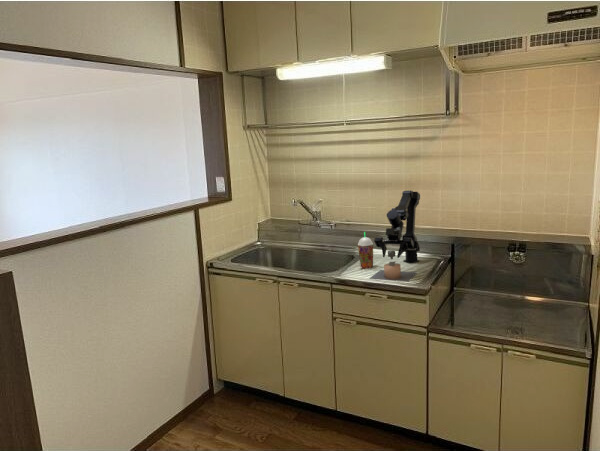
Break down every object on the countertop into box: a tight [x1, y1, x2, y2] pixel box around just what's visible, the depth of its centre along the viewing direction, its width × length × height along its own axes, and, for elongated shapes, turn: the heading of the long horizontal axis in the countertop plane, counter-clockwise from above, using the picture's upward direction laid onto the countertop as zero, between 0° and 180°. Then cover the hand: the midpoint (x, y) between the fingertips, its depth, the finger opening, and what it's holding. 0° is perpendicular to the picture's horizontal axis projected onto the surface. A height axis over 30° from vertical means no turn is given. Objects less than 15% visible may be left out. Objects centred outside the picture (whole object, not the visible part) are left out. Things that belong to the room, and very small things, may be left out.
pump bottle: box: [383, 261, 402, 279], centre depth 222 cm, size 8×8×7 cm
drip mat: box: [368, 269, 419, 282], centre depth 225 cm, size 20×16×1 cm
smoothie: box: [357, 231, 374, 270], centre depth 244 cm, size 8×8×20 cm
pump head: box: [387, 249, 396, 260], centre depth 220 cm, size 6×4×4 cm, turn 151°
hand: (390, 257), depth 219 cm, fingers open, 7 cm apart
